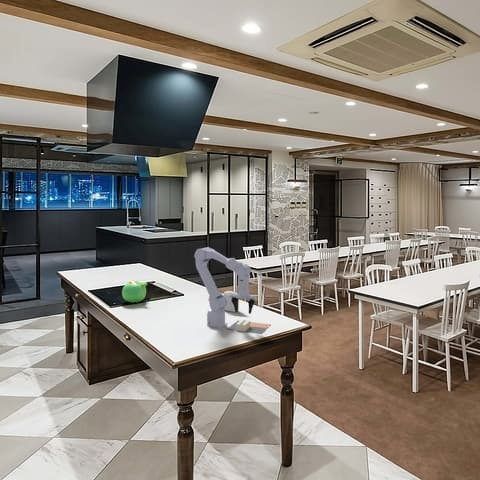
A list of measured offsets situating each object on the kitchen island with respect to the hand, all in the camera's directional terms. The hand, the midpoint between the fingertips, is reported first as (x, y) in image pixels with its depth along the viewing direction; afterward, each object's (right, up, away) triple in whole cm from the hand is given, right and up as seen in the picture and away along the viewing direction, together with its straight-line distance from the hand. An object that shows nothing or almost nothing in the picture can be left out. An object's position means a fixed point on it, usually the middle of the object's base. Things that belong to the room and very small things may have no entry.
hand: (243, 312), depth 214 cm
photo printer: (-7, -6, +37) cm, 38 cm away
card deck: (0, -9, +1) cm, 9 cm away
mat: (+3, -9, +4) cm, 10 cm away
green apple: (-73, -3, +57) cm, 92 cm away
